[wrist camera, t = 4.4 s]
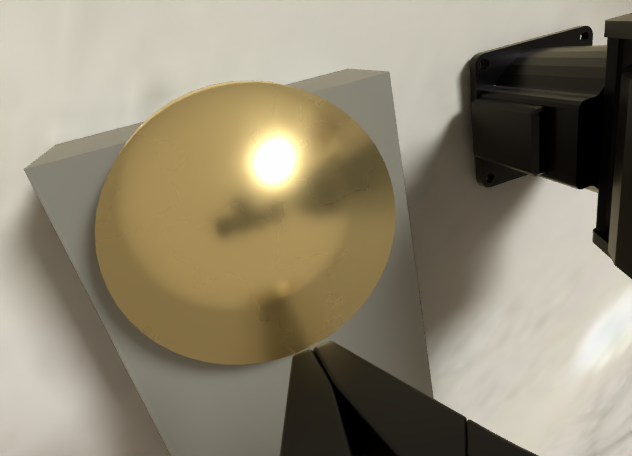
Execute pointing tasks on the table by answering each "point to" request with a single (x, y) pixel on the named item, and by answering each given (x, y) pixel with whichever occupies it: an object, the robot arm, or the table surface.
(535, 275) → the table surface
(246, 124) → the knob
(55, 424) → the table surface
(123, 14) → the table surface
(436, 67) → the table surface
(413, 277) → the panel
